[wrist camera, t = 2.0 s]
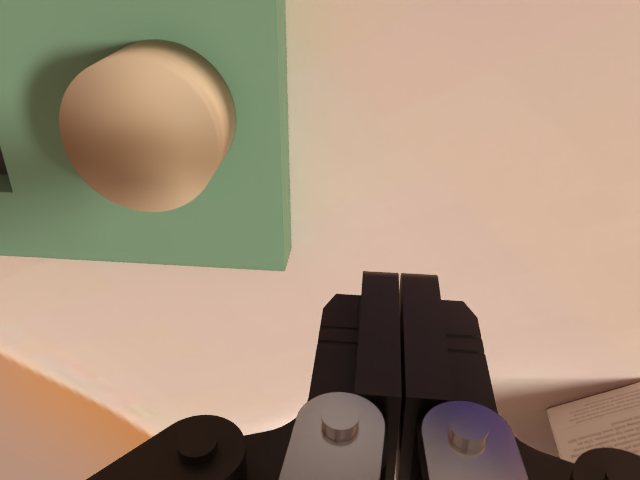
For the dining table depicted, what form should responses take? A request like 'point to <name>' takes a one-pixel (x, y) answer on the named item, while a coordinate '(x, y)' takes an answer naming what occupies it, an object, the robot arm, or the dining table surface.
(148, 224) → the green flat block
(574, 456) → the small box
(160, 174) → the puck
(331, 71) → the dining table surface
